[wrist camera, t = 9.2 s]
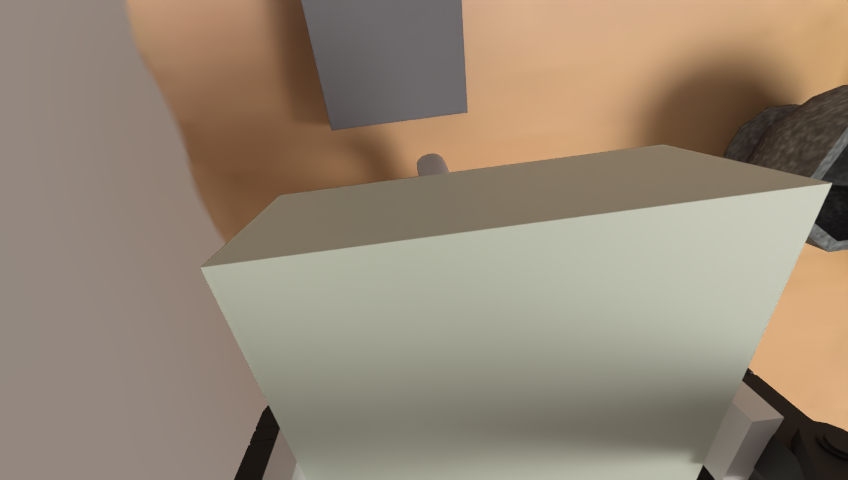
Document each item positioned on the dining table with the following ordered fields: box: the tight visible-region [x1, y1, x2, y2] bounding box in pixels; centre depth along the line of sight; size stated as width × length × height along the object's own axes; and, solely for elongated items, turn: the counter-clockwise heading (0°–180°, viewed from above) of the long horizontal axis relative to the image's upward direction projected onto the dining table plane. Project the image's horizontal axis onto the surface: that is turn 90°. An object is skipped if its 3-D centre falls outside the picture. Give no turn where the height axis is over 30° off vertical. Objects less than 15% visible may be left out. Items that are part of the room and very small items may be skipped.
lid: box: [201, 144, 832, 480], centre depth 10 cm, size 11×14×4 cm
